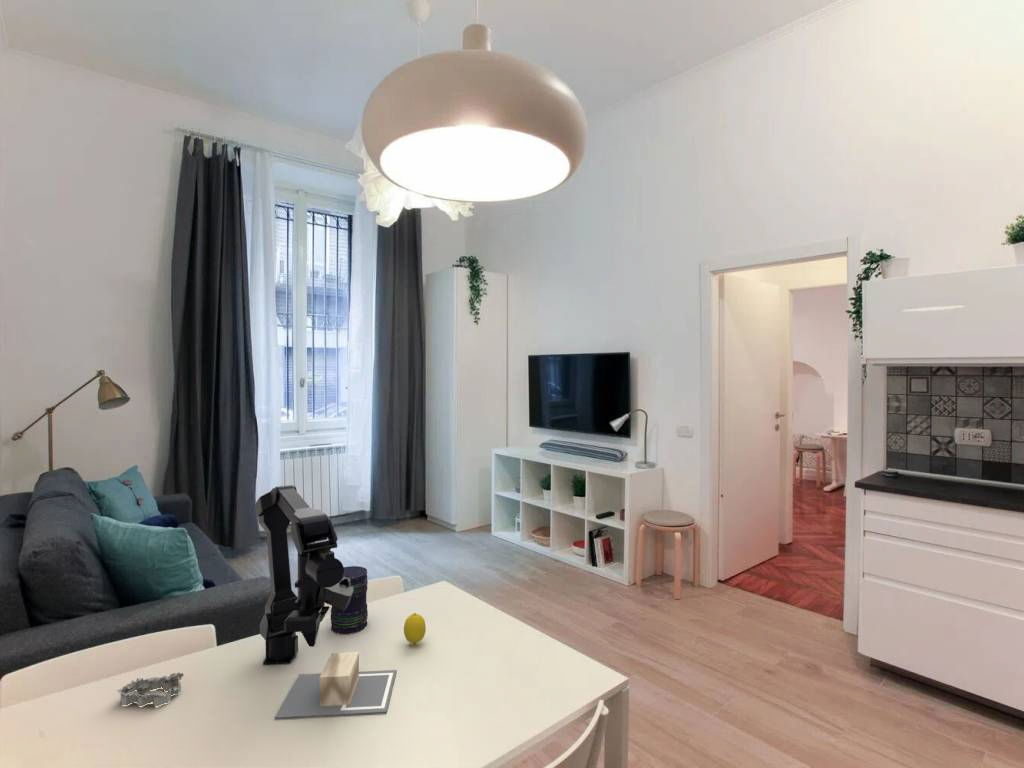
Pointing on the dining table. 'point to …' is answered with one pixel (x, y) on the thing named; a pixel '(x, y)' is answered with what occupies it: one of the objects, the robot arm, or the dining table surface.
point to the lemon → (414, 628)
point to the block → (339, 679)
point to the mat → (365, 700)
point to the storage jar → (352, 604)
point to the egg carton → (146, 685)
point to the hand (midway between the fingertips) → (312, 645)
